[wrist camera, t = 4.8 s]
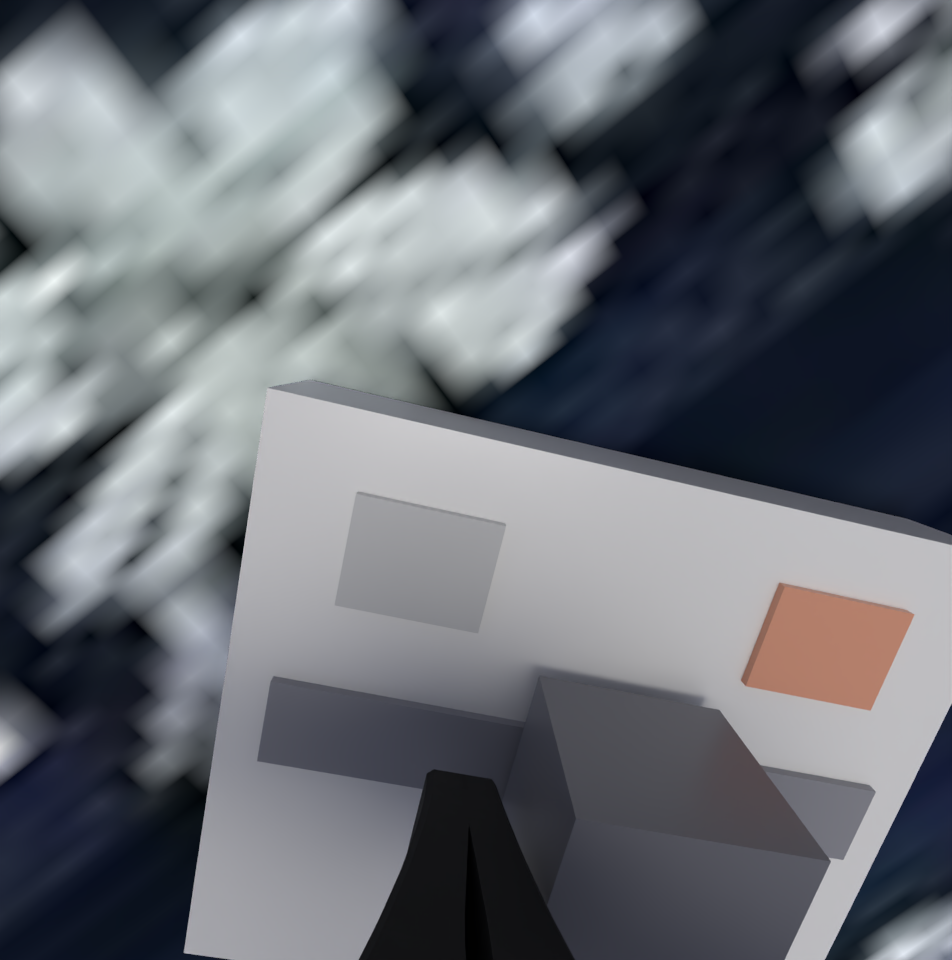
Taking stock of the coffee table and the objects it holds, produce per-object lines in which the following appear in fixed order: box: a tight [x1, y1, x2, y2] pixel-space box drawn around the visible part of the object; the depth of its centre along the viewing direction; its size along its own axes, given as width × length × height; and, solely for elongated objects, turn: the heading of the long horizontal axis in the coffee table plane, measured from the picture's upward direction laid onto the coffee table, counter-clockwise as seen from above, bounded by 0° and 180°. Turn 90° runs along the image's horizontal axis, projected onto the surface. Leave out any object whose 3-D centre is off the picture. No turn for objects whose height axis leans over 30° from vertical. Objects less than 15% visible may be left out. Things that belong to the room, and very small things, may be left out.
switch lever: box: [502, 675, 831, 960], centre depth 10 cm, size 4×5×4 cm
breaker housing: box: [184, 380, 952, 960], centre depth 14 cm, size 16×14×3 cm
